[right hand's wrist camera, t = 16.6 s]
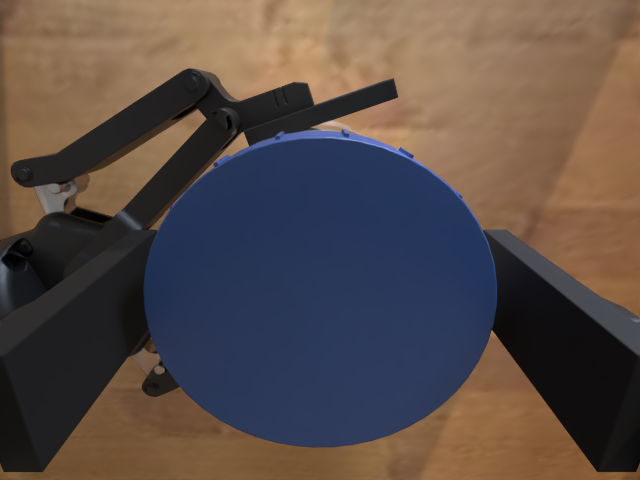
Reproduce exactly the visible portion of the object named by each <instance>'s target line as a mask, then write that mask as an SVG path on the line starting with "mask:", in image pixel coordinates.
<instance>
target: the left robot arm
mask: <svg viewBox="0 0 640 480" xmlns="http://www.w3.org/2000/svg"><path fill="white" fill-rule="evenodd" d="M395 98H398V95H397V90H396V86H395V82H394V79H390V80H386V81H382V82H379V83H376V84H374V85H371V86H368V87H365V88H362V89H359V90H356V91H353V92H351V93H348V94H345V95H342V96H339V97H336V98H333V99H331V100H328V101H325V102H322V103H319V104H316V105H314V102H313V98H312V95H311V92H310V89H309V86H308V84H307V83H300V82H293V83H290V84H288V85H285V86H282V87H279V88H276V89H274V90H271V91H268V92H265V93H262V94H260V95H257V96H254V97H251V98H248V99H246V100H243V101H239V100H236V99H234V98H233V97H231V96H230V95H229V93H228V92H227V91H226V90H225V89H224V87H223V86H222V85H221V83H220V80H219V79H218V77H217V76H216V75H214V74H212V73H210V72H206V71H201V70H197V69H186V70H183V71H182V72H180V73H179V74H177V75H176V76H174V77H173V78H171V79H170V80H168V81H167V82H165V83H164V84H162V85H161V86H159V87H157V88H156V89H154V90H153V91H151V92H150V93H148V94H147V95H145V96H144V97H142V98H141V99H139V100H138V101H136V102H135V103H133V104H131V105H130V106H128V107H127V108H125V109H124V110H122V111H121V112H119V113H118V114H116V115H115V116H113V117H112V118H110V119H109V120H107V121H106V122H104V123H102V124H101V125H99V126H98V127H96V128H95V129H93V130H92V131H90V132H89V133H87V134H86V135H84V136H83V137H81V138H80V139H78V140H77V141H75V142H73V143H72V144H70V145H69V146H67V147H66V148H64V149H63V150H61V151H60V152H58V153H53V154H48V155H43V156H39V157H34V158H29V159H24V160H20V161H17V162H14V164H13V165H12V166H11V175H12V177H13V179H14V180H15V182H17V183H18V184H19V185H21V186H23V187H34V189H35V192H36V194H37V196H38V199H39V201H40V203H41V206H42V208H43V210H44V213H45V216H44V217H43V218H42V219H41V220H40V221H39V222H38V224H37V225H36V227H35V228H34V229H32V230H29V231H26V232H24V233H21V234H18V235H15V236H12V237H9V238H6V239H3V240H0V320H1V319H3V318H4V317H6V316H7V315H8V314H10V313H11V312H13V311H14V310H16V309H18V308H20V307H22V306H24V305H26V304H29V303H31V302H33V301H35V300H36V299H37V298H39V297H40V296H42V295H43V294H44V293H46V292H47V291H49V290H50V289H51V288H53V287H54V286H56V285H57V284H58V283H60V282H61V281H63V280H64V279H65V278H67V277H68V276H70V275H71V274H73V273H74V272H75V271H77V270H78V269H80V268H81V267H82V266H84V265H85V264H87V263H88V262H89V261H91V260H92V259H94V258H95V257H96V256H98V255H99V254H101V253H102V252H103V251H105V250H106V249H108V248H109V247H110V246H112V245H113V244H115V243H116V242H117V241H119V240H120V239H122V238H123V237H124V236H126V235H127V234H129V233H130V232H131V231H133V230H149V229H150V228H151V227H152V226H153V225H154V224H155V223H156V222H157V221H158V220H159V218H160V217H161V216H162V215H163V214H164V212H165V211H166V210H167V209H168V208H169V207H170V206H171V205H172V204H173V203H174V202H175V201H176V200H177V199H178V198H179V197H180V196H181V195H182V194H183V193H184V192H185V191H186V190H187V189H188V188H189V187H190V186H191V184H192V183H193V182H194V181H195V180H196V179H197V178H198V177H199V176H200V175H201V174H202V173H203V172H204V171H205V170H206V169H207V168H208V167H209V166H210V165H211V164H212V163H213V162H214V161H215V160H216V159H217V158H218V157H219V156H220V155H221V154H222V153H223V151H224V150H225V149H226V148H227V147H228V146H229V145H230V144H231V143H232V142H233V141H234V140H235V139H236V138H237V137H238V136H239V135H240V134H241V133H242V132H244V134H245V136H246V139H247V141H248V144H249V146H252V145H254V144H256V143H258V142H260V141H263V140H266V139H270V138H273V137H275V136H276V135H277V134H278V133H280V132H282V131H284V134H290V133H296V132H299V131H302V130H305V129H308V128H311V127H313V126H316V125H319V124H322V123H325V122H328V121H331V120H334V119H337V118H340V117H343V116H345V115H348V114H351V113H354V112H357V111H360V110H363V109H366V108H369V107H372V106H375V105H378V104H380V103H383V102H386V101H389V100H392V99H395ZM197 109H199V110H200V111H201V113H202V114H203V115H204V116H205V117H206V121H205V122H204V123H203V124H202V125H201V126H200V127H199V128H198V129H197V130H196V131H195V132H194V133H193V135H192V136H191V137H190V138H189V139H188V140H187V141H186V142H185V143H184V144H183V145H182V146H181V147H180V149H179V150H178V151H177V152H176V153H175V154H174V155H173V156H172V157H171V158H170V159H169V160H168V161H167V163H166V164H165V165H164V166H163V167H162V168H161V169H160V170H159V171H158V172H157V173H156V174H155V175H154V177H153V178H152V179H151V180H150V181H149V182H148V183H147V184H146V185H145V186H144V187H143V188H142V189H141V191H140V192H139V193H138V194H137V195H136V196H135V197H134V198H133V199H132V200H131V201H130V202H129V203H128V205H127V206H126V207H125V208H124V209H123V210H121V211H120V212H119V213H118V214H116V215H115V216H114V217H112V216H108V215H105V214H101V213H98V212H94V211H91V210H87V209H84V208H80V207H76V205H75V198H76V196H77V195H78V194H79V193H81V192H83V191H85V190H86V189H87V187H88V182H89V181H90V177H89V175H88V173H91V172H94V171H97V170H99V169H102V168H104V167H106V166H108V165H110V164H112V163H113V162H115V161H116V160H118V159H120V158H121V157H123V156H124V155H126V154H127V153H129V152H131V151H132V150H134V149H135V148H137V147H139V146H140V145H142V144H143V143H145V142H147V141H148V140H150V139H151V138H153V137H155V136H156V135H158V134H159V133H161V132H162V131H164V130H166V129H167V128H169V127H170V126H172V125H174V124H175V123H177V122H178V121H180V120H182V119H183V118H185V117H186V116H188V115H190V114H191V113H193V112H194V111H196V110H197ZM129 356H131V357H132V358H133V360H134V361H135V362H136V363H137V364H138V366H139V367H140V368H141V369H142V370H143V372H144V373H145V374H146V375H147V378H146V379H145V381H144V382H143V384H142V390H143V391H144V393H146V394H147V395H149V396H152V397H157V396H160V395H163V394H165V393H167V392H169V391H172V390H174V389H176V388H178V387H180V386H179V385H178V384H177V383H176V381H175V380H174V379H173V377H172V376H171V374H170V373H169V372H168V370H167V369H166V367H165V366H164V364H163V362H162V360H161V358H160V356H159V354H158V353H157V351H156V349H155V346H154V343H153V341H152V339H151V335H150V332H149V329H148V330H147V332H146V333H145V334H144V336H143V337H142V338H141V340H140V341H139V342H138V344H137V345H136V346H135V348H134V349H133V351H132V352H131V353H130V355H129ZM129 356H128V357H129Z"/></svg>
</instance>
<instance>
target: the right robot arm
mask: <svg viewBox="0 0 640 480" xmlns="http://www.w3.org/2000/svg"><path fill="white" fill-rule="evenodd" d="M483 233H484V235H485V237H486V239H487V241H488V244H489V248H490V251H491V254H492V257H493V261H494V266H495V273H496V280H497V305H496V311H495V317H494V324H493V327H492V330H493V332H494V333H495V334H496V336H497V337H498V338H499V340H500V341H501V342H502V344H503V345H504V346H505V348H506V349H507V351H508V352H509V353H510V355H511V356H512V357H513V359H514V360H515V361H516V363H517V364H518V365H519V367H520V368H521V369H522V371H523V372H524V374H525V375H526V376H527V378H528V379H529V380H530V382H531V383H532V384H533V386H534V387H535V388H536V390H537V391H538V392H539V394H540V395H541V396H542V398H543V399H544V401H545V402H546V403H547V405H548V406H549V407H550V409H551V410H552V411H553V413H554V414H555V415H556V417H557V418H558V419H559V421H560V422H561V424H562V425H563V426H564V428H565V429H566V430H567V432H568V433H569V434H570V436H571V437H572V438H573V440H574V441H575V442H576V444H577V445H578V446H579V448H580V449H581V451H582V452H583V453H584V455H585V456H586V457H587V459H588V460H589V461H590V463H591V464H592V465H593V467H594V468H595V469H596V471H597V472H636V471H637V469H638V466H639V464H640V318H639V317H637V316H636V315H634V314H633V313H631V312H630V311H628V310H627V309H626V308H624V307H622V306H620V305H617V304H615V303H613V302H611V301H608V300H606V299H604V298H602V297H600V296H598V295H597V294H596V293H594V292H593V291H591V290H590V289H589V288H587V287H586V286H584V285H583V284H582V283H580V282H579V281H577V280H576V279H575V278H573V277H572V276H570V275H569V274H567V273H566V272H565V271H563V270H562V269H560V268H559V267H558V266H556V265H555V264H553V263H552V262H551V261H549V260H548V259H546V258H545V257H544V256H542V255H541V254H539V253H538V252H537V251H535V250H534V249H532V248H531V247H530V246H528V245H527V244H525V243H524V242H523V241H521V240H520V239H518V238H517V237H516V236H514V235H513V234H511V233H510V232H509V231H507V230H483ZM156 234H157V230H133V231H131V232H130V233H129V234H127V235H126V236H124V237H123V238H122V239H120V240H119V241H117V242H116V243H115V244H113V245H112V246H110V247H109V248H108V249H106V250H105V251H103V252H102V253H101V254H99V255H98V256H96V257H95V258H94V259H92V260H91V261H89V262H88V263H87V264H85V265H84V266H82V267H81V268H80V269H78V270H77V271H75V272H74V273H73V274H71V275H70V276H68V277H67V278H65V279H64V280H63V281H61V282H60V283H58V284H57V285H56V286H54V287H53V288H51V289H50V290H49V291H47V292H46V293H44V294H43V295H42V296H40V297H39V298H37V299H36V300H35V301H33V302H31V303H29V304H26V305H24V306H22V307H20V308H18V309H16V310H14V311H13V312H11V313H10V314H8V315H7V316H6V317H4V318H3V319H1V320H0V464H1V466H2V469H3V471H4V472H43V471H44V469H45V468H46V467H47V465H48V464H49V463H50V461H51V460H52V459H53V457H54V456H55V455H56V453H57V452H58V451H59V449H60V448H61V446H62V445H63V444H64V442H65V441H66V440H67V438H68V437H69V436H70V434H71V433H72V432H73V430H74V429H75V428H76V426H77V425H78V423H79V422H80V421H81V419H82V418H83V417H84V415H85V414H86V413H87V411H88V410H89V409H90V407H91V406H92V405H93V403H94V402H95V401H96V399H97V398H98V396H99V395H100V394H101V392H102V391H103V390H104V388H105V387H106V386H107V384H108V383H109V382H110V380H111V379H112V378H113V376H114V375H115V374H116V372H117V371H118V369H119V368H120V367H121V365H122V364H123V363H124V361H125V360H126V359H127V357H128V356H129V355H130V353H131V352H132V351H133V349H134V348H135V346H136V345H137V344H138V342H139V341H140V340H141V338H142V337H143V336H144V334H145V333H146V332H147V330H148V325H147V320H146V315H145V310H144V292H143V288H144V278H145V268H146V264H147V260H148V256H149V252H150V248H151V246H152V243H153V241H154V239H155V236H156Z"/></svg>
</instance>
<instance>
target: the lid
mask: <svg viewBox="0 0 640 480" xmlns="http://www.w3.org/2000/svg"><path fill="white" fill-rule="evenodd" d="M413 157H414V155H412V154H411V153H409V152H408V151H406V150H404V149H403V148H400V149H399V150H397V149H396V148H394V147H392V146H389V145H387V144H384V143H382V142H380V141H377V140H375V139H372V138H368V137H364V136H360V135H356V134H352V133H349V132H348V131H347V130H346V129H342V132H336V131H302V132H296V133H290V134H284V131H282V132H280V133H278V134H277V135H276V136H275V137H273V138H270V139H266V140H263V141H260V142H258V143H256V144H254V145H252V146H249V147H247V148H245V149H243V150H241V151H239V152H238V153H236V154H234V155H233V156H231V157H229V155H226V156H225V157H223V158H222V159H220V160H218V161H217V162H215V163H214V164H213V165H214V166H215V168H213V169H212V170H210V171H209V172H207V173H206V174H204V175H203V176H202V177H201V178H200V179H199V180H197V181H196V182H195V183H194V184H193V185H192V186H191V187H189V188H188V189H187V190H186V191H185V192H184V194H183V195H182V196H181V197H180V198H179V200H178V201H177V202H176V203H175V204H174V205H172V206H171V208H170V211H169V212H168V214H167V216H166V217H165V219H164V221H163V222H162V224H161V225H160V227H159V229H158V232H157V234H156V236H155V239H154V241H153V243H152V246H151V248H150V252H149V256H148V260H147V264H146V268H145V278H144V288H143V292H144V310H145V315H146V320H147V325H148V329H149V332H150V335H151V338H152V341H153V343H154V346H155V349H156V351H157V353H158V354H159V356H160V358H161V360H162V362H163V364H164V366H165V367H166V369H167V370H168V372H169V373H170V374H171V376H172V377H173V379H174V380H175V381H176V383H177V384H178V385H179V386H180V387H181V388H182V389H183V390H184V391H185V393H186V394H187V395H188V396H189V397H190V398H192V399H193V400H194V401H195V402H196V403H197V404H198V405H200V406H201V407H202V408H203V409H204V410H206V411H207V412H209V413H210V414H212V415H213V416H215V417H216V418H218V419H219V420H221V421H223V422H224V423H226V424H228V425H230V426H232V427H234V428H236V429H238V430H240V431H243V432H245V433H248V434H250V435H253V436H255V437H258V438H262V439H265V440H269V441H272V442H276V443H282V444H287V445H293V446H303V447H338V446H347V445H354V444H359V443H364V442H368V441H373V440H376V439H379V438H382V437H385V436H388V435H391V434H393V433H396V432H398V431H400V430H402V429H405V428H407V427H409V426H411V425H412V424H414V423H416V422H418V421H419V420H421V419H423V418H425V417H426V416H428V415H429V414H430V413H432V412H433V411H434V410H436V409H437V408H439V407H440V406H441V405H442V404H443V403H444V402H446V401H447V400H448V399H449V398H450V397H451V396H452V395H453V394H454V393H455V392H456V391H457V390H458V389H459V388H460V386H461V385H462V384H463V383H464V382H465V381H466V379H467V378H468V377H469V375H470V374H471V372H472V371H473V369H474V368H475V366H476V365H477V363H478V362H479V360H480V358H481V356H482V353H483V351H484V349H485V347H486V345H487V343H488V340H489V337H490V333H491V330H492V327H493V324H494V317H495V311H496V305H497V280H496V273H495V266H494V261H493V257H492V254H491V251H490V248H489V244H488V241H487V239H486V237H485V235H484V233H483V231H482V229H481V227H480V225H479V222H478V221H477V219H476V218H475V216H474V215H473V213H472V212H471V210H470V209H469V208H468V206H467V205H466V203H465V202H464V201H463V200H462V199H461V198H462V196H461V194H459V193H458V192H456V191H455V190H453V189H452V188H451V187H450V186H449V185H448V184H447V183H446V182H444V181H443V180H442V179H441V178H439V177H438V176H437V175H436V174H434V173H433V172H432V171H431V170H429V169H428V168H426V167H425V166H423V165H422V164H420V163H419V162H417V161H416V160H414V159H413Z"/></svg>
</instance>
